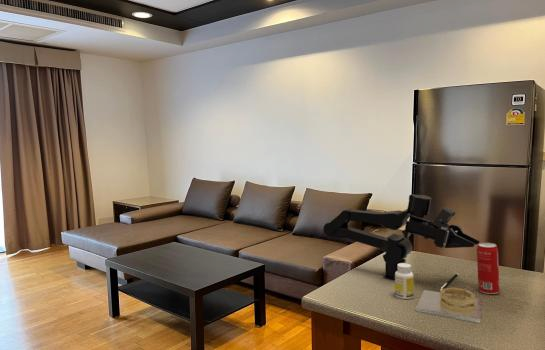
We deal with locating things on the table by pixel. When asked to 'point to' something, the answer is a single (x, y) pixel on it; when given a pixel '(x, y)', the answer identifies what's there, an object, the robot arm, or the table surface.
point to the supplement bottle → (404, 281)
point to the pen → (448, 282)
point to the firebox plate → (451, 304)
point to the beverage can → (488, 268)
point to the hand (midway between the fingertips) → (476, 244)
